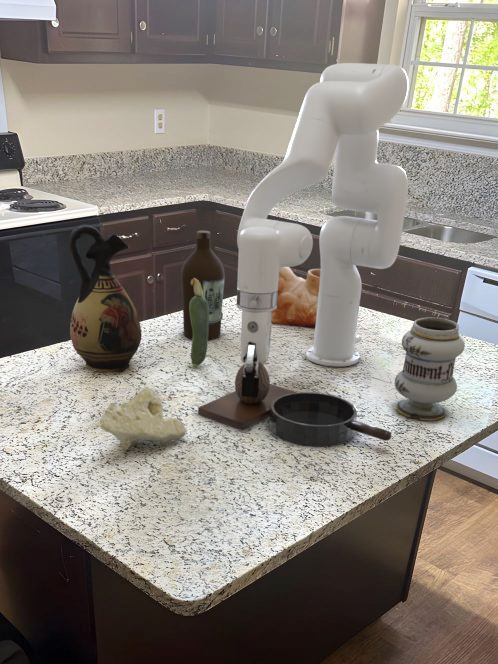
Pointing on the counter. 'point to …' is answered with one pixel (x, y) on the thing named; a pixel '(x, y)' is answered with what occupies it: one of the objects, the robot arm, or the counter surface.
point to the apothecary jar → (428, 367)
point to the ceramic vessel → (297, 298)
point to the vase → (263, 385)
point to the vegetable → (199, 324)
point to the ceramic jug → (103, 307)
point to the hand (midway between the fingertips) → (252, 388)
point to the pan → (312, 418)
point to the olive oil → (203, 284)
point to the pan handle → (370, 430)
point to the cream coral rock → (141, 420)
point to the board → (241, 408)
